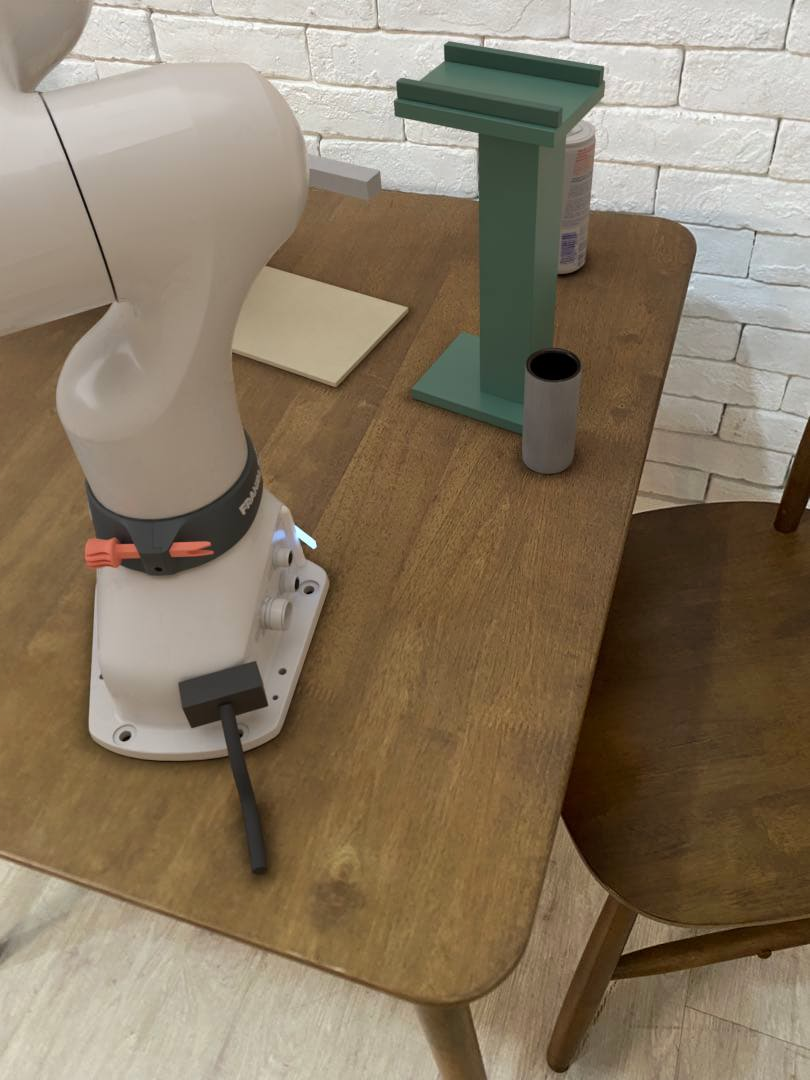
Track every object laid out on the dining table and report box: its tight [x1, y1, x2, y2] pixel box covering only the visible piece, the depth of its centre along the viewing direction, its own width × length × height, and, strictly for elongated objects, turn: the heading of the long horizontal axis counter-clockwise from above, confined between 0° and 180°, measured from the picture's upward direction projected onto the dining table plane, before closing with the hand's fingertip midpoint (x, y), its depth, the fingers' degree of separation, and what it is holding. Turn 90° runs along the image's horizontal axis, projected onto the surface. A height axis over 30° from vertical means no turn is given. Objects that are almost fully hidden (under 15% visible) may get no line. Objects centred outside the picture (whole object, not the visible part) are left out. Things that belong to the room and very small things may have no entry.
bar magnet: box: [308, 153, 383, 202], centre depth 85 cm, size 21×2×2 cm, turn 59°
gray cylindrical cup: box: [521, 347, 583, 475], centre depth 79 cm, size 4×4×10 cm
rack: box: [393, 40, 606, 436], centre depth 79 cm, size 13×10×29 cm
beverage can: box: [557, 119, 597, 275], centre depth 98 cm, size 6×6×15 cm
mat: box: [232, 265, 409, 388], centre depth 100 cm, size 24×14×1 cm, turn 59°
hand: (218, 143), depth 88 cm, fingers closed on bar magnet, 2 cm apart
